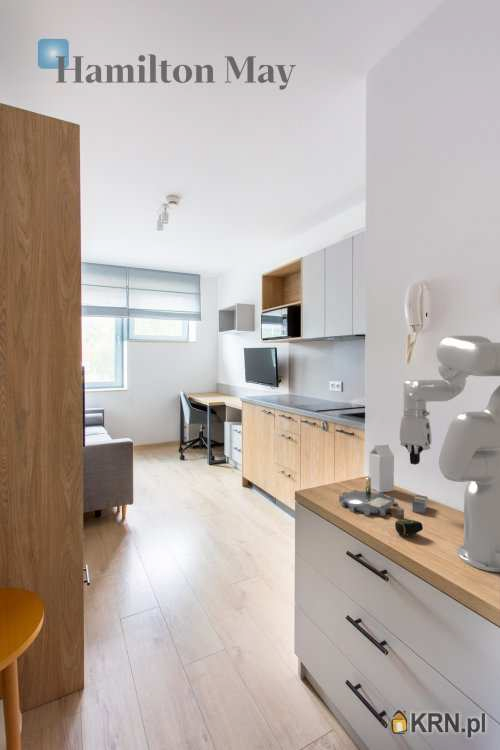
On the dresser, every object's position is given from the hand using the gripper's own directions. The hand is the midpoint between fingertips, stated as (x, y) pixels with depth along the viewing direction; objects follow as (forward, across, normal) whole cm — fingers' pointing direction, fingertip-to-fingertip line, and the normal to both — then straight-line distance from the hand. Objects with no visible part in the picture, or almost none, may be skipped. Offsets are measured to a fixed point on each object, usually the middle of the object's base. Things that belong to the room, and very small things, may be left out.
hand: (414, 463), depth 131 cm
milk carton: (+16, +20, -8) cm, 27 cm away
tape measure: (+17, -12, +19) cm, 28 cm away
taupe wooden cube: (+17, 0, +12) cm, 20 cm away
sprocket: (+16, +12, +11) cm, 23 cm away
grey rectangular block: (+17, -1, -1) cm, 17 cm away
